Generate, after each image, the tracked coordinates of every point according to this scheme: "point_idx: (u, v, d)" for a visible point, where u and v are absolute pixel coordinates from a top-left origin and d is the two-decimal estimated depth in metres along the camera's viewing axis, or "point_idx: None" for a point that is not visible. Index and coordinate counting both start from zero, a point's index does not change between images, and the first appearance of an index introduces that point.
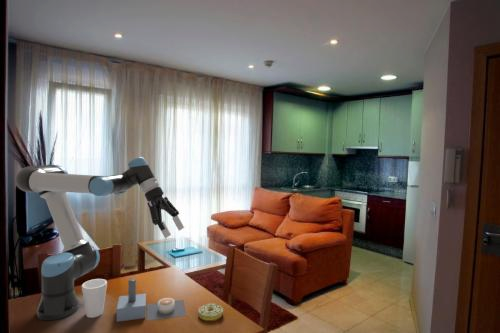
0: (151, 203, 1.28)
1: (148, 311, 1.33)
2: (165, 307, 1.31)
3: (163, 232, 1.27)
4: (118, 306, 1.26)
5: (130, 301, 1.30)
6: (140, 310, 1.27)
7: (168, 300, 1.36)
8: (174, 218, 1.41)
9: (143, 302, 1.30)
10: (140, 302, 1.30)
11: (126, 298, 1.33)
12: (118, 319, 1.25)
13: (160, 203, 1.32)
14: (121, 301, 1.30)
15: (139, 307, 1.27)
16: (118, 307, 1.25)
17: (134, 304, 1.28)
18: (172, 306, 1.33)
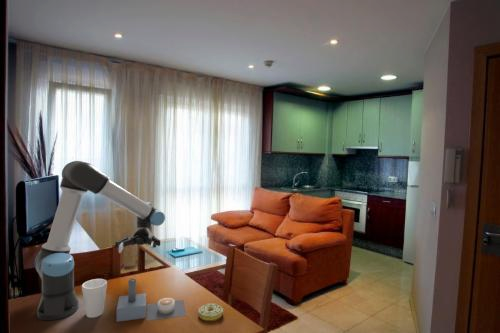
0: None
1: (148, 311, 1.33)
2: (165, 307, 1.31)
3: (152, 245, 1.43)
4: (118, 306, 1.26)
5: (130, 301, 1.30)
6: (140, 310, 1.27)
7: (168, 300, 1.36)
8: (122, 245, 1.44)
9: (143, 302, 1.30)
10: (140, 302, 1.30)
11: (126, 298, 1.33)
12: (118, 319, 1.25)
13: None
14: (121, 301, 1.30)
15: (139, 307, 1.27)
16: (118, 307, 1.25)
17: (134, 304, 1.28)
18: (172, 306, 1.33)
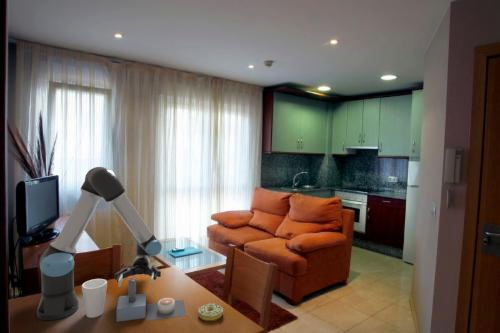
0: None
1: (148, 311, 1.33)
2: (165, 307, 1.31)
3: (153, 277, 1.40)
4: (118, 306, 1.26)
5: (130, 301, 1.30)
6: (140, 310, 1.27)
7: (168, 300, 1.36)
8: (122, 277, 1.40)
9: (143, 302, 1.30)
10: (140, 302, 1.30)
11: (126, 298, 1.33)
12: (118, 319, 1.25)
13: None
14: (121, 301, 1.30)
15: (139, 307, 1.27)
16: (118, 307, 1.25)
17: (134, 304, 1.28)
18: (172, 306, 1.33)
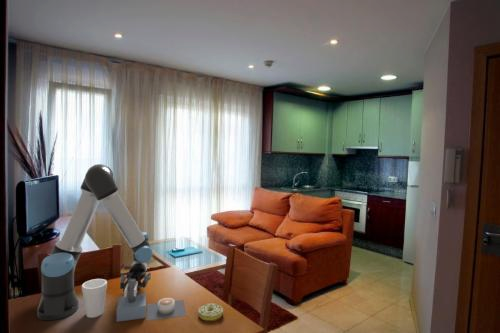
0: (149, 277, 1.42)
1: (148, 311, 1.33)
2: (165, 307, 1.31)
3: (136, 288, 1.28)
4: (118, 306, 1.26)
5: (130, 301, 1.30)
6: (140, 310, 1.27)
7: (168, 300, 1.36)
8: None
9: (143, 302, 1.30)
10: (140, 302, 1.30)
11: (126, 298, 1.33)
12: (118, 319, 1.25)
13: None
14: (121, 301, 1.30)
15: (139, 307, 1.27)
16: (118, 307, 1.25)
17: (134, 304, 1.28)
18: (172, 306, 1.33)
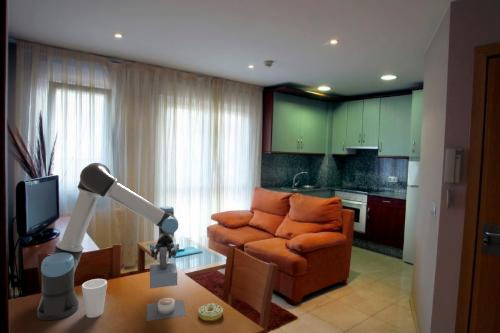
0: (178, 248, 1.44)
1: (148, 311, 1.33)
2: (165, 307, 1.31)
3: (168, 255, 1.30)
4: (151, 273, 1.29)
5: (162, 268, 1.32)
6: (172, 277, 1.29)
7: (168, 300, 1.36)
8: None
9: (174, 269, 1.32)
10: (171, 269, 1.33)
11: (157, 266, 1.35)
12: (151, 285, 1.27)
13: None
14: (153, 269, 1.33)
15: (171, 274, 1.29)
16: (151, 273, 1.28)
17: (166, 271, 1.31)
18: (172, 306, 1.33)
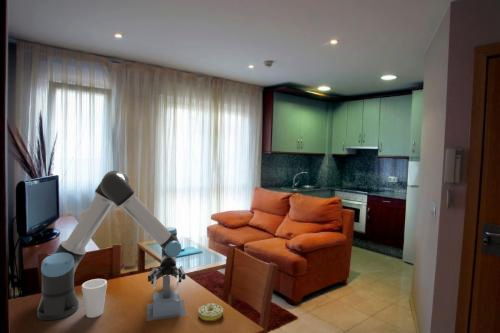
0: None
1: (148, 311, 1.33)
2: None
3: (178, 280, 1.33)
4: (154, 302, 1.29)
5: (165, 297, 1.33)
6: (175, 306, 1.30)
7: None
8: None
9: (177, 298, 1.33)
10: (174, 298, 1.34)
11: (160, 294, 1.36)
12: (154, 315, 1.28)
13: None
14: (156, 297, 1.34)
15: (174, 303, 1.30)
16: (154, 303, 1.29)
17: (169, 300, 1.32)
18: None
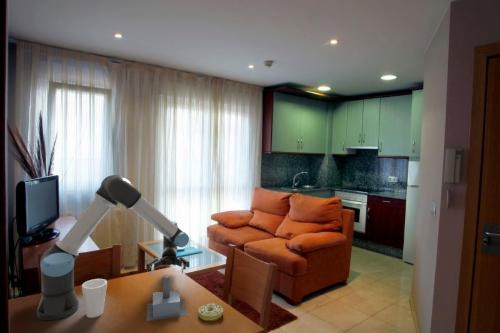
0: None
1: (148, 311, 1.33)
2: None
3: (183, 267, 1.47)
4: (154, 302, 1.29)
5: (165, 297, 1.33)
6: (175, 306, 1.30)
7: None
8: (154, 266, 1.48)
9: (177, 298, 1.33)
10: (174, 298, 1.34)
11: (160, 294, 1.36)
12: (154, 315, 1.28)
13: None
14: (156, 297, 1.34)
15: (174, 303, 1.30)
16: (154, 303, 1.29)
17: (169, 300, 1.32)
18: None
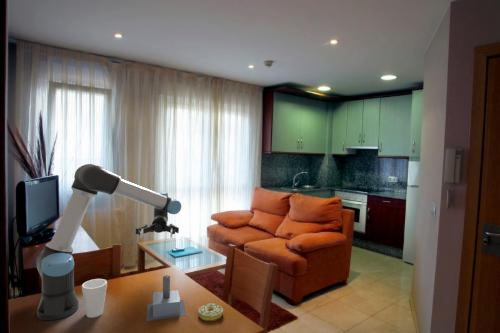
0: None
1: (148, 311, 1.33)
2: None
3: (172, 231, 1.48)
4: (154, 302, 1.29)
5: (165, 297, 1.33)
6: (175, 306, 1.30)
7: None
8: None
9: (177, 298, 1.33)
10: (174, 298, 1.34)
11: (160, 294, 1.36)
12: (154, 315, 1.28)
13: (163, 230, 1.58)
14: (156, 297, 1.34)
15: (174, 303, 1.30)
16: (154, 303, 1.29)
17: (169, 300, 1.32)
18: None
